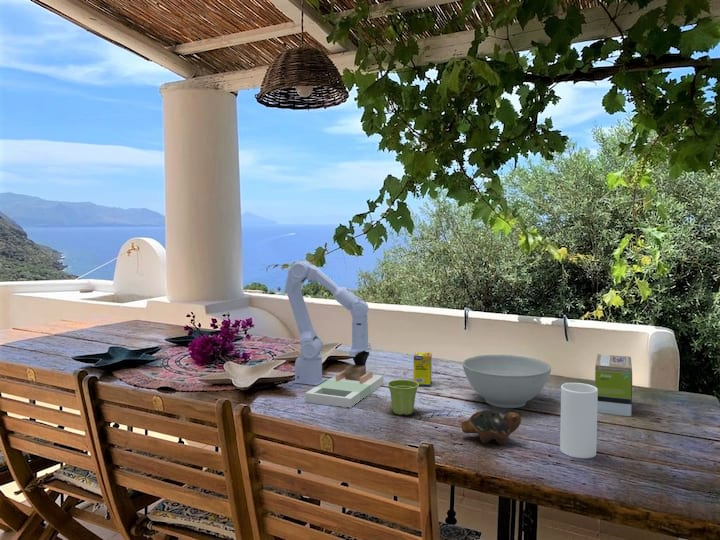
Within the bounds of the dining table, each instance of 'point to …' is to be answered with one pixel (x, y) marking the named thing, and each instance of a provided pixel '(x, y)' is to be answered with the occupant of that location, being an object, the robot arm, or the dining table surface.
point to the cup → (578, 420)
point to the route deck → (343, 390)
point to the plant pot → (403, 395)
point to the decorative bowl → (506, 378)
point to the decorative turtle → (492, 425)
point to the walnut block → (354, 372)
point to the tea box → (614, 384)
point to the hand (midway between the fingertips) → (360, 372)
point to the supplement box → (422, 368)
